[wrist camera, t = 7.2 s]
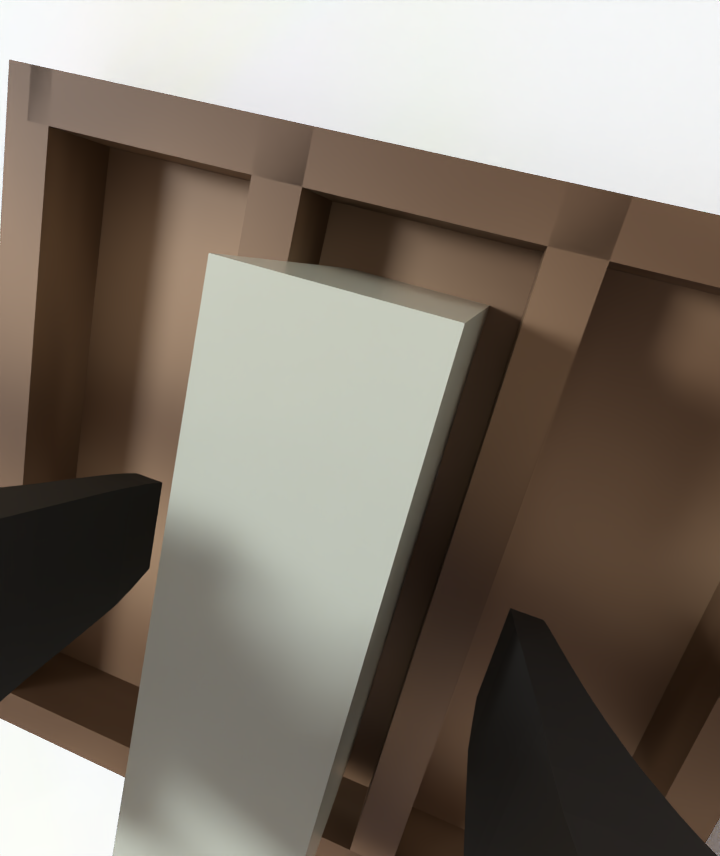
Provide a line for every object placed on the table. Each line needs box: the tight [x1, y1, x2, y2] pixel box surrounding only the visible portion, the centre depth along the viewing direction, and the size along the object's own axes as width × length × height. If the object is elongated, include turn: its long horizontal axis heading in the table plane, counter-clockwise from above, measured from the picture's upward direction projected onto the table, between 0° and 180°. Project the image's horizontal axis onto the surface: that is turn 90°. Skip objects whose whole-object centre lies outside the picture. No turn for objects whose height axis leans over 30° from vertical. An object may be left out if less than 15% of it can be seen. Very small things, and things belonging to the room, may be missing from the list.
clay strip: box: [113, 253, 490, 856], centre depth 11 cm, size 12×3×6 cm, turn 166°
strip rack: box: [0, 60, 720, 856], centre depth 13 cm, size 16×17×2 cm
